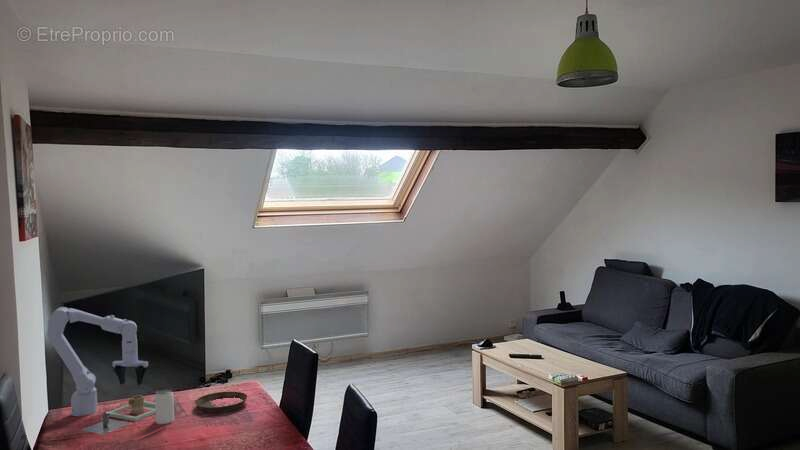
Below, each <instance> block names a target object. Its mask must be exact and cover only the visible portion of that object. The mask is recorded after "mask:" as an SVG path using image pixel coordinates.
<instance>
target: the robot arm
mask: <svg viewBox="0 0 800 450" xmlns="http://www.w3.org/2000/svg"><path fill="white" fill-rule="evenodd" d="M68 322H69V323H70V324H71V323H75V322H84V323H88V324H92V325H96V326H100V327H101V329H102V330H103V331H107V332H111V333H114V334H121V336H122V337H121V339H122V340H121V353H122V355H121V356H122V357H121V359H122V360H114V361H112V367H113V372H114V373H115V375H116V376H117V378H118V381H119V384H120V385H124V384H125V382H126V368H127V367H129V368H131V367H134V371H135V374H136V383H137V386H140V385H142V384H143V381H144V377H145V373H146V371H147V369H148V367H149V361H147V360H145V361H144V360H139V355H138V350H139V349H138V339H137V337H138V336H137V332H138V326H137V324H136V322H134V321H133V320H129V319H126V318H124V319H121V318H118V317H115V315H113V314H111V315H107V316H104V317H102V316H99V315H96V314H93V313H89V312H86V311H83V310H80V309H76V308H72V307H70V308H69V307H66V306H60V307H58V308H56V309H55V310H54V311H53V312H52V313H51V314H50V316H49V318H48V321H47V325H48V326H47V333H46V334H47V336H46V337H47V339H48V340H49V341H50V343H51V345H52V347H53V348H54V350H55V351H56V352H57V354H58V355H59V357H60V358H61V360H62V361H63V363H64V364H65V367H67V369H68V370H69V372H70V374H71V376H72V379H73V382H74V383H75V389H76V391H75V392H73V393H72V395H71V398H70V405H71V406H70V409H71V410H70V411H71V413H69V416H72V417H77V418H78V417H81V416H89V415H93V414H96V413H97V412H98V393H97V392H98V391H97V388H96V387H95V384H96V382H97V377H96V375H95V374H94V373H93V372H91V371H89V369H88V368H87V367H86V366H85V365H84V364H83V362H82V361H81V359H80V358H79V356H78V355H77V353H76V352H75V350H74V349H73V347H72V345H71V343H69V341H68V339H67V338H66V337H65V335H64V330H65V328H66V325H67V324H68ZM135 367H136V368H135Z"/></svg>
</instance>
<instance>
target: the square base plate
mask: <svg viewBox="0 0 800 450" xmlns="http://www.w3.org/2000/svg"><path fill="white" fill-rule="evenodd" d="M108 412H109V411H104V412H103V413H102V414H101V417H102V421H100V422H97V423H95V424H92V425H90V426H87V427H84V428H82V429H80V431H84V432H88V433H94V434H97V435H103V436H104V435H106V434H109V433H111V432H114V431H116V430H118V429H121V428H123V427H125V426H128V425H131V424H132V422H127V421H121V420H118V419H117V420H116V419H112V418H109V417H110V416H109V413H108Z"/></svg>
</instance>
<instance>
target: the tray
mask: <svg viewBox="0 0 800 450" xmlns="http://www.w3.org/2000/svg"><path fill="white" fill-rule="evenodd" d="M128 409H131V405H129V403H128V404H126V405H124V406H123V405H122V406H121V407H118V408H115V409H113V410H110V411H107V412H108V413H109V417H111V418H116V419H121V420H126V421H132V422H138V421H140V420H143V419H145V418H148V417H150V416H152V415H156V411H155V401H154V402H153V401H147V400H144V410H145V409H146V410H150V411H147V412H143V413H140V414H139V415H137V416H133V415H129V414H123V413H121V412H123V411H126V410H128Z"/></svg>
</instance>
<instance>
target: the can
mask: <svg viewBox="0 0 800 450" xmlns="http://www.w3.org/2000/svg"><path fill="white" fill-rule="evenodd" d="M154 403H155V411H156V413H155V423H156V424H158V425H163V424H164V425H165V424H166V425H167V426H168V425H171V424H173V423H174V421H175V406H174V393H173V390H172V389H169V388H167V389H159V390H157V391H156V393H155V396H154Z"/></svg>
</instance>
